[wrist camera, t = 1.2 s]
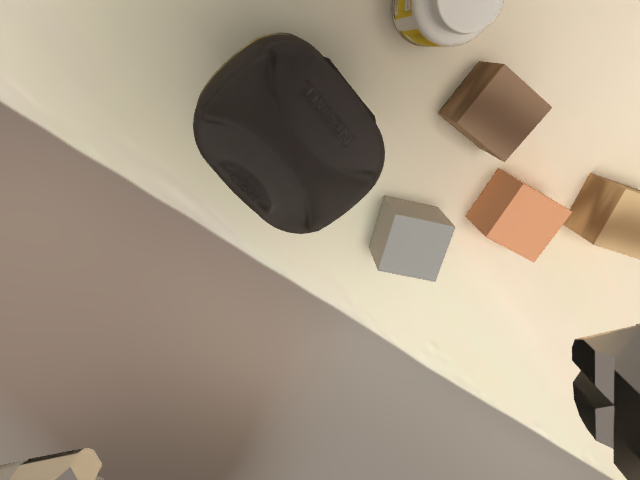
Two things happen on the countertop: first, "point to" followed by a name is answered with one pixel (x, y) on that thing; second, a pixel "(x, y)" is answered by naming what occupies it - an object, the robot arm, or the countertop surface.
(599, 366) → the robot arm
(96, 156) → the countertop surface
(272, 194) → the coffee jar
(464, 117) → the walnut cube
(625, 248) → the oak cube
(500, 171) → the terracotta cube
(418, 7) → the supplement bottle
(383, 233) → the grey cube
